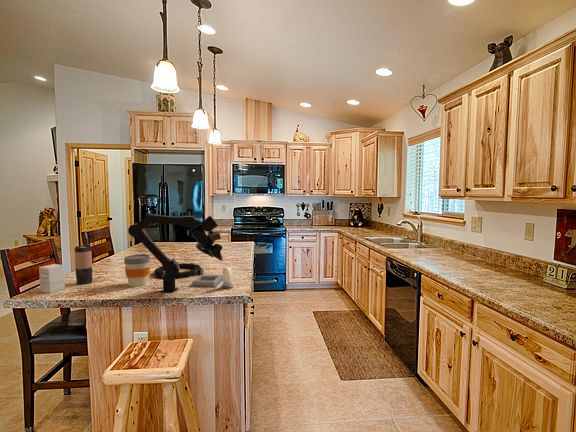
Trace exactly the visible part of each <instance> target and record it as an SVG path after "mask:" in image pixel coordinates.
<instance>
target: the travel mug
mask: <svg viewBox="0 0 576 432" xmlns="http://www.w3.org/2000/svg"><path fill="white" fill-rule="evenodd" d="M92 257H93V255H92V246H91V245H90V244H89V245H88V244H87V245H85V244H84V245H78V246H75V247H74V264H75V265H74V266H75V278H76V285H78V286H79V285H80V286H81V285H82V286H83V285H84V284H85V285H89V284H92V283H93V259H92Z"/></svg>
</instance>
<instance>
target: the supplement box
mask: <svg viewBox="0 0 576 432" xmlns="http://www.w3.org/2000/svg"><path fill="white" fill-rule="evenodd" d="M38 271H39V284H40V285H39V287H40V288H39V289H40V292H41V293H44V294H53V293H56V292H57V293H58V292H59V291H64V290H65V289H66V287H65V269H64V264H57V263H53V264H48V265H43V266H38Z"/></svg>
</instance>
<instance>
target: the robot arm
mask: <svg viewBox="0 0 576 432" xmlns="http://www.w3.org/2000/svg"><path fill="white" fill-rule="evenodd" d="M151 223H153V224H166V225H167V224H168V225H176V226H181V227H183V228H188V229H187V233H186V234H187V236H188V237H190V236H193V238H194V239H195V240H196V241H195V242H196V244H195V248H196V249H197V250H198V251H200V252H202V253H204V254H205V255H208V256H210V257H211V258H215V259H217V260H219V261H223V256H222V253H221V251H222V249H223V246H222V244H220V243H216V241H218V240H221V239H222V237H221V233H220V232H217V231H213V230H215V229H216V228H218V227H219V224H218V223H217V222H216V220H214V218H213V217H212V216H211V215H208V216H207V217H206V218H205V219H203V220H199V219H196V217H195V216H193V215H182V216H172V215H171V216H170V215H161V214H153V213H150V214H147V215H145V217H144V218H142V219H141V220H140V221H138V222H136V223H134V224H131V225H130V226H129V227H128V229H127V230H128V231H127V233H128V234H129V236H130V237H132V238H133V239H135V240H137V241H138V242H140V243H141V244H142V245H143V246H144V247H145V248H146V249H147V250H148V251H149V252H150V254H152V256H153V257H154V258H155V259H156V260H157V261H158V262H159V263H160V264H161V266H163V268H164V270H165V271H163V272H164V274H163V276H162V278H161V279H162V287H163V289H162V290H160V293H167V294H168V293H169V294H170V293H171V294H172V293H174V292H176V291H178V290H179V288H178V287H176V278H175V276H177V275H178V273H179V272H180V270H181V269H180V267H179V264H180V263H179V262H178V261H177V260H176V259H175V258H174V257H172V259H171V258H169V257H168V256H167V255H166V254H165V253H164V252H163V251H162V250H161V248H160V247H159V246H158V245H157V244H156V243H155V242H154V241H153V240H152V238H151V237H150V236H149V234H148V232H147V231H146V228H147V227H148V226H149V225H151ZM206 232H207V233H206Z"/></svg>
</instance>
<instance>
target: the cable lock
mask: <svg viewBox="0 0 576 432" xmlns="http://www.w3.org/2000/svg"><path fill="white" fill-rule="evenodd" d="M179 267H180V269H179V270H181V269H183V270H184V269H185V270H187V271H181V272H180V271H179V273H178V275H177V276H175V279H182V278H183V279H184V278H191V277H194V276H195V277H196V276H201V275H204V273H205V271H204V269H203V268H202V267H201V265H199V264H195V263H188V262H187V263H186V262H185V263H184V262H182V263H179ZM164 272H165V270H164V268H163V266H162V265H161V266H159V267H157V268H156V269H154V270H153V274H154V276H155V277H157V278H159V279H162V276H163V274H164Z"/></svg>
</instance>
